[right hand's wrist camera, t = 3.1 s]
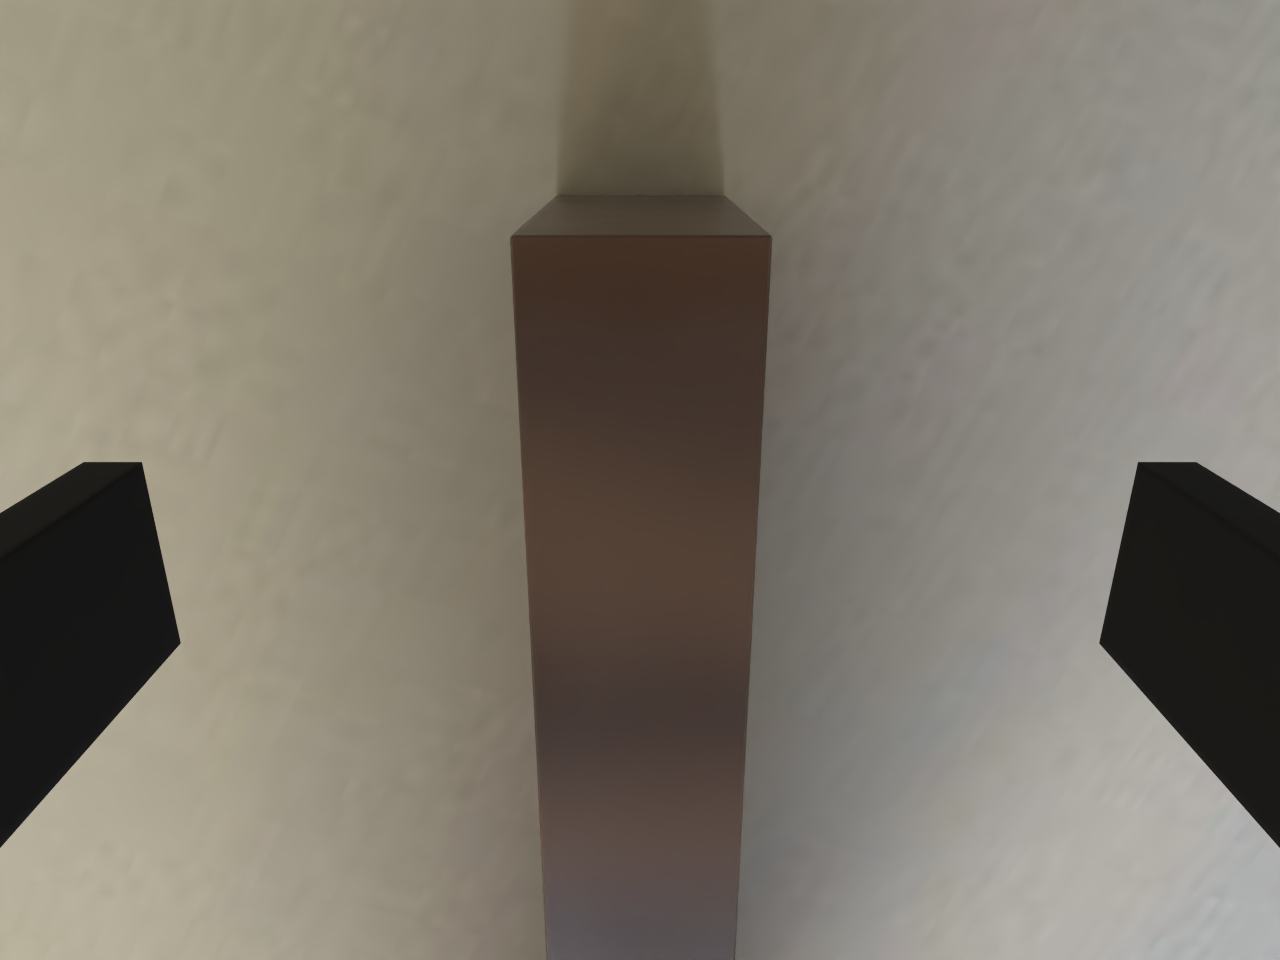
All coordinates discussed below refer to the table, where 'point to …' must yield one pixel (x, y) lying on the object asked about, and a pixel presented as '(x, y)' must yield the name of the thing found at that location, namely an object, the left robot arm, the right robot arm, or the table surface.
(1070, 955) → the table surface
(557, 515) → the plank
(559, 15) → the table surface
